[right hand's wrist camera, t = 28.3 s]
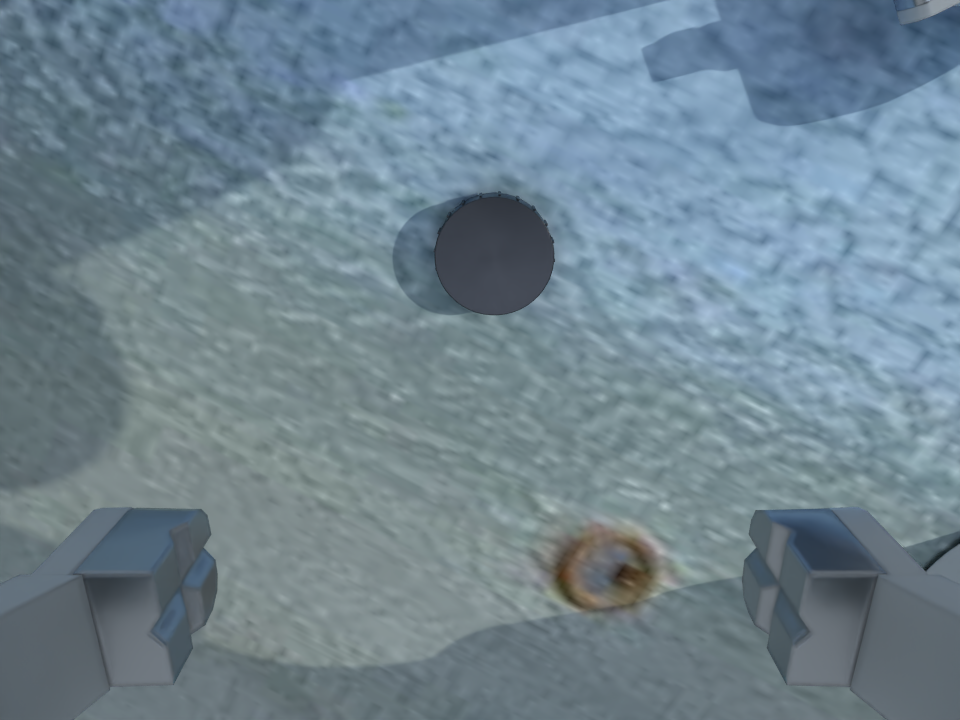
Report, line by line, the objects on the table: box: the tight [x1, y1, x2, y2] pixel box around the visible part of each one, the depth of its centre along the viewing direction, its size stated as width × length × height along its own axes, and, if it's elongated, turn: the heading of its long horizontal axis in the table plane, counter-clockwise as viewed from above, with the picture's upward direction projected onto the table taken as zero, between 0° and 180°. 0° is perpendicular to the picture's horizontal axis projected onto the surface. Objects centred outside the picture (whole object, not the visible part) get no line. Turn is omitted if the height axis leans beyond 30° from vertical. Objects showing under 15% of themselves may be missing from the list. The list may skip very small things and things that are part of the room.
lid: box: [434, 191, 555, 315], centre depth 32 cm, size 6×6×2 cm
